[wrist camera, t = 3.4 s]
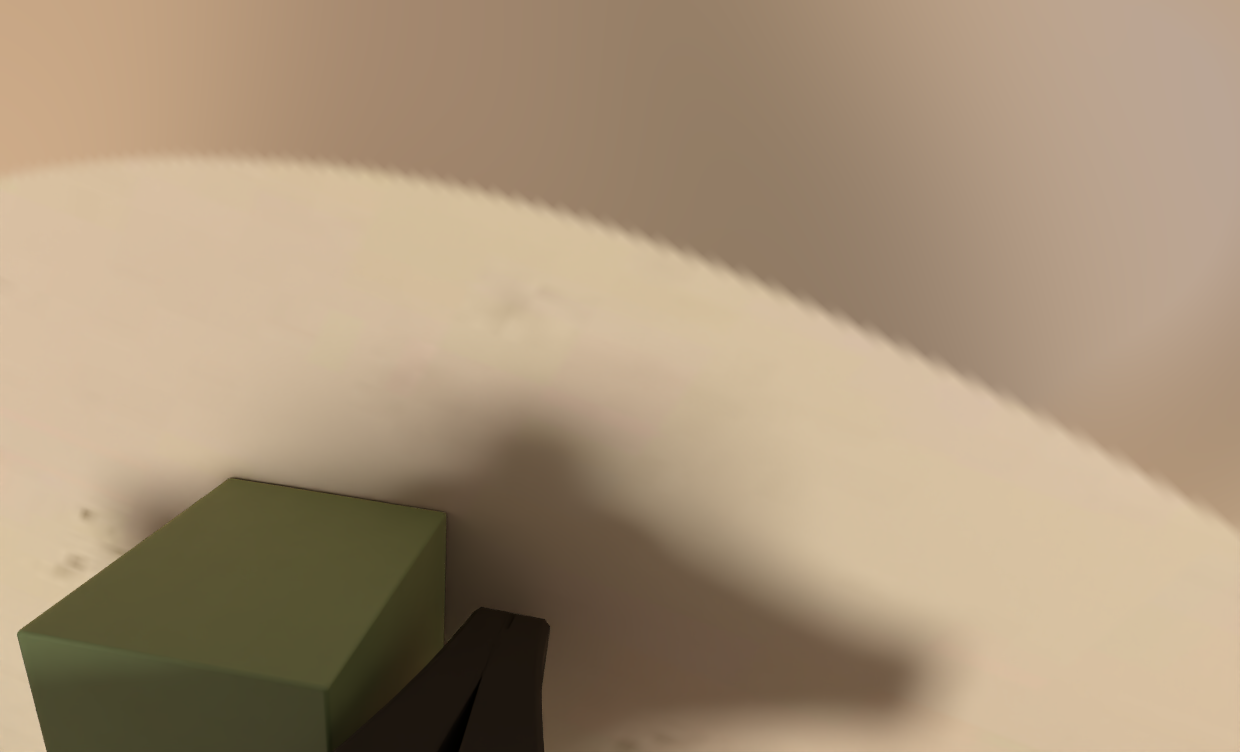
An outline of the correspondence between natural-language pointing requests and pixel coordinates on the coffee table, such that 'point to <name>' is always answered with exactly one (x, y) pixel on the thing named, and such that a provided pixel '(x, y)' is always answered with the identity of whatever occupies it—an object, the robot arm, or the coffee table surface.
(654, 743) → the coffee table surface
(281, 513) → the sage block
